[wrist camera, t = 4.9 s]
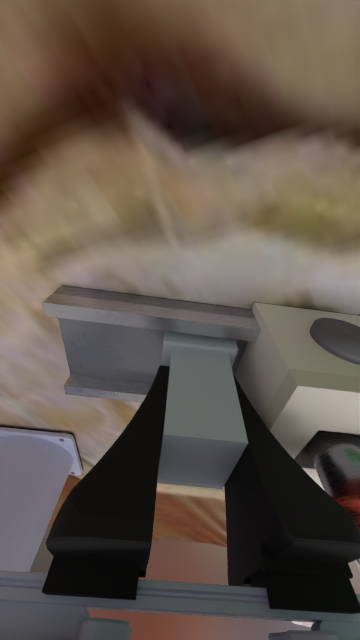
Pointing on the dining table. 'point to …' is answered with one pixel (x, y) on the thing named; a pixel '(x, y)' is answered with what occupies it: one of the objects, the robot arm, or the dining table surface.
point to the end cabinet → (303, 375)
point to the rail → (133, 337)
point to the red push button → (338, 467)
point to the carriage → (200, 412)
